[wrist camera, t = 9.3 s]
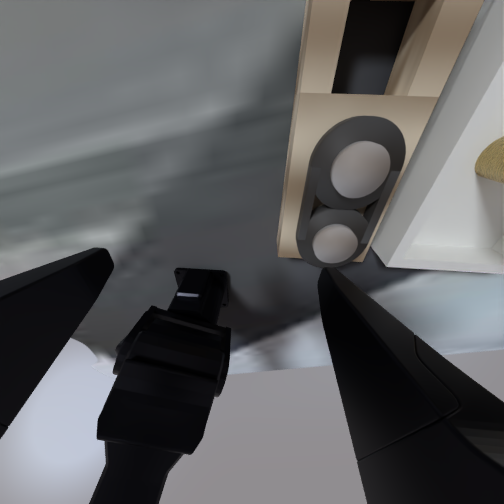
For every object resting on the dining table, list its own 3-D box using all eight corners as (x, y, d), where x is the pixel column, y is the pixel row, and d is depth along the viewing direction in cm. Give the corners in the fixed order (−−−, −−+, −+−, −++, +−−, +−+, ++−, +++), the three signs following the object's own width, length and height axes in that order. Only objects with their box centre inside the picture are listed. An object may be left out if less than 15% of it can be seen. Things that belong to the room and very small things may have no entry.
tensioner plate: (351, 244, 21) (372, 278, 17) (276, 240, 21) (279, 272, 17) (462, -37, 10) (600, -141, 6) (311, -38, 11) (340, -139, 6)
